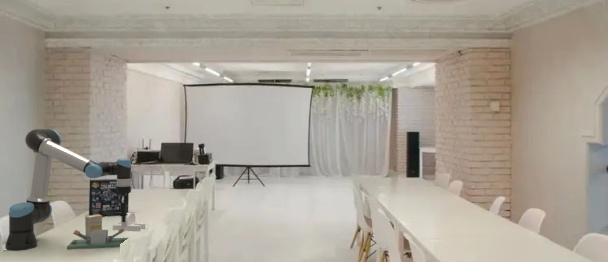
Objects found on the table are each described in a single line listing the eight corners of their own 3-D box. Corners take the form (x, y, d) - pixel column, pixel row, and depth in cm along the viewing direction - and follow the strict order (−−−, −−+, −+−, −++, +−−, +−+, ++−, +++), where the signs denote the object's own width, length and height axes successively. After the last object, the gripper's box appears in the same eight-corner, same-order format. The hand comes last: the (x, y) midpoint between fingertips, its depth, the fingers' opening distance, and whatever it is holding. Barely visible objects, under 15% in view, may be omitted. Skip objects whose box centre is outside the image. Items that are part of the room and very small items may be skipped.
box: (128, 213, 372) (128, 178, 372) (129, 215, 366) (129, 179, 366) (88, 216, 360) (88, 179, 360) (89, 218, 354) (89, 180, 354)
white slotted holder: (138, 231, 313) (138, 214, 313) (112, 230, 316) (112, 213, 316) (145, 228, 322) (145, 212, 322) (120, 227, 325) (120, 211, 325)
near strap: (90, 240, 280) (92, 237, 280) (88, 242, 275) (90, 239, 275) (74, 232, 278) (76, 229, 278) (72, 234, 273) (74, 231, 273)
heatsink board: (66, 249, 267) (66, 235, 267) (73, 242, 283) (73, 229, 283) (125, 246, 274) (125, 233, 274) (128, 240, 290) (128, 227, 290)
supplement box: (98, 235, 300) (98, 214, 300) (102, 236, 297) (102, 215, 297) (84, 237, 294) (85, 215, 294) (88, 239, 291) (89, 216, 291)
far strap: (107, 241, 277) (106, 239, 277) (109, 239, 282) (107, 237, 282) (123, 232, 279) (122, 229, 279) (124, 230, 284) (123, 227, 284)
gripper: (129, 187, 276) (129, 229, 276) (132, 184, 288) (132, 224, 289) (115, 187, 274) (115, 230, 274) (118, 184, 286) (118, 225, 287)
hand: (123, 227), depth 281 cm, fingers closed
